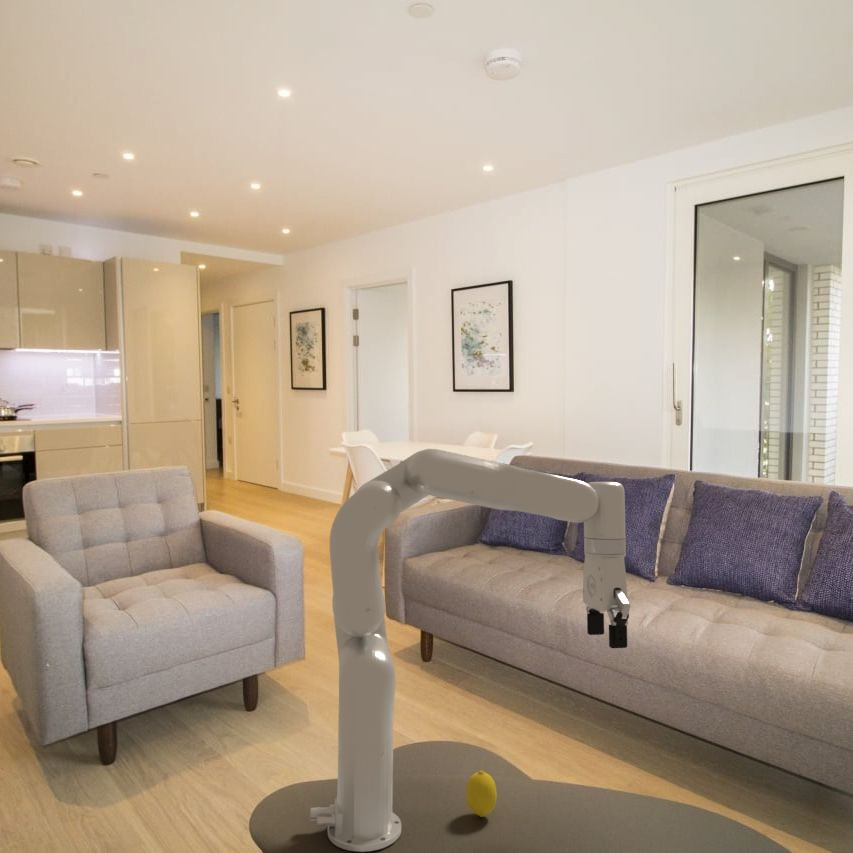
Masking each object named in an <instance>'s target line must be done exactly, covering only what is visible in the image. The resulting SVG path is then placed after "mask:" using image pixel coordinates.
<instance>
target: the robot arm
mask: <svg viewBox="0 0 853 853" xmlns="http://www.w3.org/2000/svg"><path fill="white" fill-rule="evenodd" d="M625 494H626V493H625V487H624V486H623V484H622V483H620V482H616V481H589V482H585V481H583V480H579V479H575V478H570V477H566V476H560V475H557V474H551V473H547V472H542V471H538V470H532V469H529V468H523V467H518V466H515V465H511V464H507V463H502V462H497V461H493V460H489V459H488V460H487V459H484V458H478V457H473V456H469V455H466V454H462V453H461V454H460V453H457V452H451V451H446V450H442V449H437V448H425V449H422V450H420V451H417V452H415V453H413V454H412V455H410V456H409V457H407V458H405V459H404V460H402V461H400V462H399V463H398V464H396V465H393V467H390V468H389V469H388V470H387V469H386V471H384V472H382V473H381V474H379V475H377V476H375V477H374V478H372V479H370V480H368V481H367V482H365V483H364V484H362V485H361V486H360V487H359V488H358V489H357V490H356V492H355V493H353V494H351V496H350V497H348V499H346V500H345V501H344V503H343V504H342V506H340V508H339V509H338V512H337V513H336V515H335V516H334V520H333V522H332V524H331V528H330V532H329V533H330V534H329V556H330V557H329V558H330V570H331V583H332V585H331V586H332V593H333V594H332V602H331V603H332V605H331V606H332V613H333V619H334V629H335V630H334V631H335V636H336V637H335V638H336V646H337V647H336V648H337V653H338V654H337V655H338V717H337V718H338V721H337V722H338V724H337V725H338V727H337V728H338V730H337V739H338V740H337V741H338V742H337V792H336V793H337V794H336V797H335V800H334V803H333V804H329V806H327V807H326V806H325V807H321V806H317V807H310V814H309V815H310V820H309V821H314V822H315V821H317V823H316V827H325V826H327V837H328V840H329V841H330V842H331V843H332V844H333V845H335V846H336V847H338V848H340V849H343V850H346V851H348V852H349V851H350V852H355V853H357V852H358V853H366V852H368V853H369V852H373V851H378V850H382V849H385V848H387V847H388V846H390V845H392V844H394V843H395V842H396V841H397V840H398V839H399V838H400V836H401V834H402V820H401V819H400V817H399V816H398V815H397V814H395V812H393V793H394V792H393V791H394V790H393V789H394V788H393V785H394V783H393V782H394V781H393V780H394V778H393V777H394V774H393V773H394V710H395V709H394V708H395V694H396V669H395V664H394V660H393V657H392V655H391V653H390V650H389V644H388V636H387V630H386V629H387V628H386V620H385V614H386V606H387V605H386V599H385V594H384V593H383V586H382V579H381V572H380V558H379V557H380V556H379V548H378V547H379V540H380V537H381V535H382V533H383V532H384V530H385V529H387V528H388V527H389V526H391V525H392V524H394V523H395V522H396V521H397V520H398V518H399V516H400V515H401V513H403V512H404V511H405V510H407V509H410V507H412V506H414V505H415V504H417V503H419V502H420V501H422V500H423V499H424V498H426V497H428V496H431V497H437V498H441V499H446V500H450V501H456V502H460V503H461V502H462V503H465V504H471V505H474V506H481V507H483V508H489V509H495V510H499V511H511V512H513V511H515V512H520V513H521V512H522V513H527V514H533V515H537V516H544V517H548V518H551V519H554V520H558V521H564V522H569V523H575V524H580V523H583V536H584V538H583V540H584V541H583V543H584V544H583V546H584V551H583V552H584V562H583V577H582V578H583V579H582V602H583V603H584V604H585V605H586V608H585V610H586V613H587V614H586V620H587V621H586V623H587V624H586V625H587V626H586V629H587V634H588V635H589V636H597V635H598V636H599V635H600V636H601V635H602V636H603V635H604V634H605V613H606V612H607V616H608V619H609V622H610V624H608V646H609V648H610V649H625V648H626V649H627V647H628V626H629V625H628V624H629V618H630V614H629V613H630V609H631V604H630V602H629V601H628V583H627V572H626V565H625V564H626V563H625V557H626V556H627V548H626V546H627V545H626V544H627V540H626V500H625V499H626V498H625ZM615 614H616V615H615Z"/></svg>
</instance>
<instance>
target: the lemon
mask: <svg viewBox="0 0 853 853" xmlns="http://www.w3.org/2000/svg"><path fill="white" fill-rule="evenodd" d="M465 798H466V799H465V800H466V803H467V806H468V808H469V810H470V811H471V812H472V813H473V814H475V815H476V816H478V817H479V816H480V817H483V818H484V817H485V816H488V815H489V814H491V813H492V812H493V810H494V809H495V807H496V803H497V800H498V799H497V798H498V793H497V786H496V782H495V781H494V779H493V777H492V776H491V775H490V774H488V773H487V772H484V770H479V771H477V772H475V773H473V774H472V775H471V776H470V777H469V779H468V780H467V783H466V789H465ZM480 817H479V818H480Z"/></svg>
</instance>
